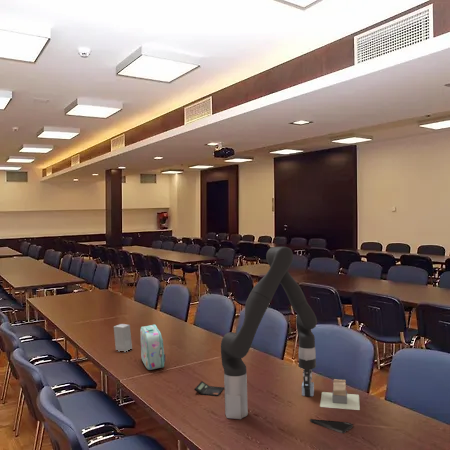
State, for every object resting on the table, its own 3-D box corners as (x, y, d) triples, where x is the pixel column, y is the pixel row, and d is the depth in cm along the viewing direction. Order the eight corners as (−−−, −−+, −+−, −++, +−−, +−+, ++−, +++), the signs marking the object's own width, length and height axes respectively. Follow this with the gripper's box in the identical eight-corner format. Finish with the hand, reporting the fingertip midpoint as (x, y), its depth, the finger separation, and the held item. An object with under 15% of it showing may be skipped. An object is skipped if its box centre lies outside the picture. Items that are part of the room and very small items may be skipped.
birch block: (345, 395, 193) (345, 384, 193) (333, 395, 195) (333, 383, 194) (345, 391, 198) (345, 379, 198) (333, 390, 199) (333, 379, 199)
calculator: (218, 397, 207) (218, 390, 207) (194, 394, 210) (194, 388, 210) (224, 389, 216) (224, 382, 215) (201, 387, 219) (201, 380, 219)
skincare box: (132, 350, 281) (131, 324, 281) (124, 353, 275) (123, 327, 275) (122, 348, 286) (121, 323, 285) (114, 351, 280) (113, 325, 279)
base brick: (347, 404, 193) (347, 396, 193) (332, 402, 194) (332, 395, 194) (347, 398, 199) (347, 391, 198) (333, 397, 200) (332, 390, 200)
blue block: (313, 397, 202) (313, 386, 202) (301, 396, 203) (301, 385, 203) (314, 393, 207) (313, 382, 207) (302, 392, 208) (302, 381, 208)
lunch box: (167, 371, 242) (166, 330, 241) (148, 373, 238) (146, 333, 238) (157, 356, 267) (155, 320, 266) (139, 359, 263) (138, 322, 263)
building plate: (359, 411, 187) (359, 410, 187) (319, 408, 191) (319, 406, 191) (358, 396, 202) (358, 394, 202) (322, 393, 206) (321, 391, 206)
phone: (319, 413, 185) (353, 424, 175) (319, 416, 185) (353, 427, 175) (309, 419, 179) (343, 431, 169) (309, 422, 179) (343, 434, 169)
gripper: (300, 351, 212) (301, 387, 213) (297, 361, 198) (297, 399, 199) (316, 352, 210) (317, 388, 211) (314, 362, 196) (315, 401, 197)
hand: (308, 393), depth 205 cm, fingers closed on blue block, 5 cm apart
